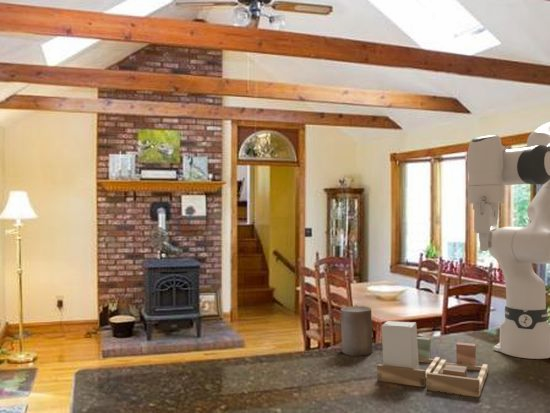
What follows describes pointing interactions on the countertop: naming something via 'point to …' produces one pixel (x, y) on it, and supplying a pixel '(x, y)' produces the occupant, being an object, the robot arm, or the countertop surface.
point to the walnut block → (455, 370)
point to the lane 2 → (457, 383)
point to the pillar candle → (356, 330)
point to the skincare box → (400, 344)
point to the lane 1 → (410, 374)
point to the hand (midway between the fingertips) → (486, 249)
